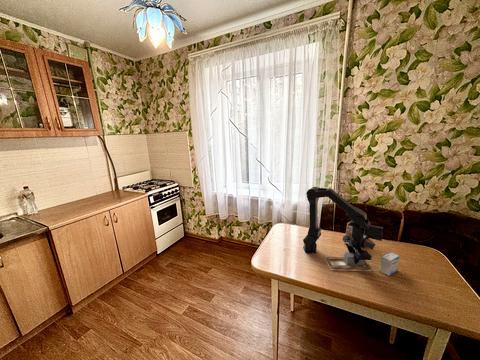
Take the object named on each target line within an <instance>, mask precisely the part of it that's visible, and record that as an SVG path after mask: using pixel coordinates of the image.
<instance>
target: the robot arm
mask: <svg viewBox="0 0 480 360" xmlns="http://www.w3.org/2000/svg"><path fill="white" fill-rule="evenodd" d="M305 194H306V199H307V201H308V204H309V207H308V209H309V227H308V230H307V234H306V236H305V237H304V238H303V239H302V241H303V247H302V248H303V250H304V253H305V254H317V247H318V243H317V241H318V240H319V239H320V237H322V227H321V228H320V227H319V226H318V225H319V224H318V221H319V220H318V219H319V217H318V215H319V214H318V212H319V211H318V208H319V207H318V206H319V205H318V203H319V200H320V199H321V198H328V199H330V201H332V202H333V203H334V204H336V205H337V206H338V207H340V209H342V210H343V212H345V213H346V214H347V215H348V217H349V219H350V221H348V222H349V223H348V222H347V223H348V226H352V231H351V234H349V236H345V235H344V236H342V241H343V242H344V243H345V242H346V240H349V241H347V244H346V245H345V246H346V248H347V251H348V252H350V253H352V254H353V258H354V262H355V264H358V262H359V261H360V260H365V261H372V257H373V256H372V255H371V254H370V253H369V252H368V251H367V250H366V248H367V249H370V250H371V251H372V250H373V249H374V248H375V246H376V245H377V244H376V243H375V242H374V241H373V240H375V241H380V242H382V240H383V234H384V233H383V232H384V231H383V230H384V226H379V225H373V224H371V221H370V220H369V218H368V216H367V215H368V214H367V213H366V211H364V210H363V209H360V208H358V207H357V206H354V205H353V204H351V203H350V202H348V201H347V200H346V199H345V198H344V197H342V196H341V195H340V194H338V193H337V192H336V191H335V190H334V189H333V188H331V187H329V188H327V187H317V186H312V187H311V188H309V189H308V190H307V191H306V193H305ZM371 239H372V240H371ZM364 249H365V250H364Z"/></svg>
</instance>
